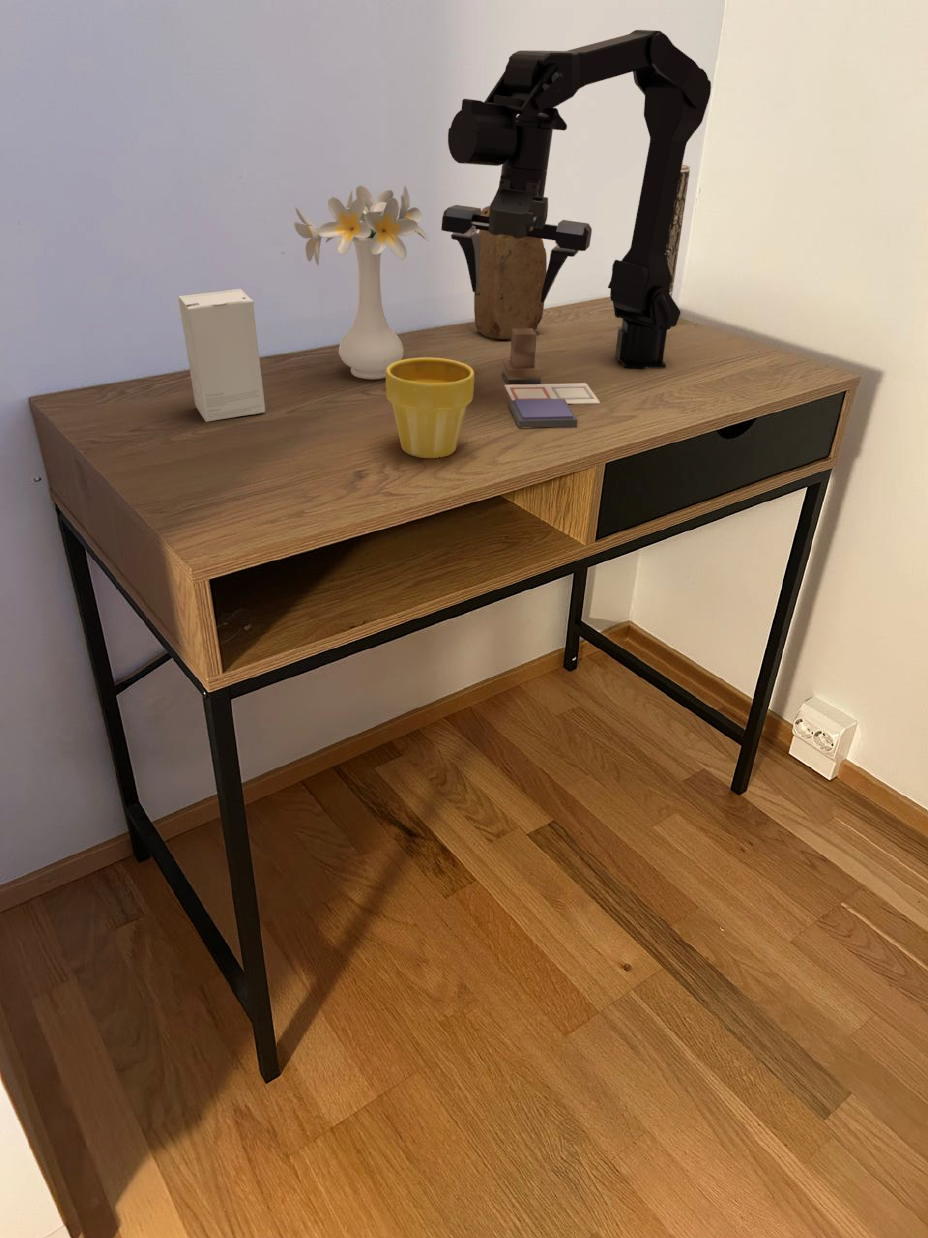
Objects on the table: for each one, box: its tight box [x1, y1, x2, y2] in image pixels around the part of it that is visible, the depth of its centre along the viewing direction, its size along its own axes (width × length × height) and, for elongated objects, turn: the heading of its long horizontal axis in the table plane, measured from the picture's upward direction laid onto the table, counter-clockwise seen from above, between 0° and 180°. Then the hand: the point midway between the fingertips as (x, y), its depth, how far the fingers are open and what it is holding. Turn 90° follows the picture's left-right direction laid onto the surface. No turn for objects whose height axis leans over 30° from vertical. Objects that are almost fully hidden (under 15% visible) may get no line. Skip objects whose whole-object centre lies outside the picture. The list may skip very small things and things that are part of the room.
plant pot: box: [385, 357, 475, 459], centre depth 113 cm, size 10×10×10 cm
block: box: [473, 205, 548, 341], centre depth 152 cm, size 11×8×20 cm
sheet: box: [504, 382, 601, 405], centre depth 133 cm, size 12×8×1 cm, turn 97°
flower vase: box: [293, 184, 429, 380], centre depth 131 cm, size 13×18×25 cm
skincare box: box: [178, 288, 266, 423], centre depth 120 cm, size 8×6×15 cm
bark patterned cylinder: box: [665, 163, 691, 298], centre depth 159 cm, size 7×7×25 cm
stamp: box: [501, 328, 543, 385], centre depth 137 cm, size 5×5×7 cm
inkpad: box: [508, 399, 578, 429], centre depth 125 cm, size 8×8×1 cm
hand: (508, 296), depth 126 cm, fingers open, 9 cm apart
